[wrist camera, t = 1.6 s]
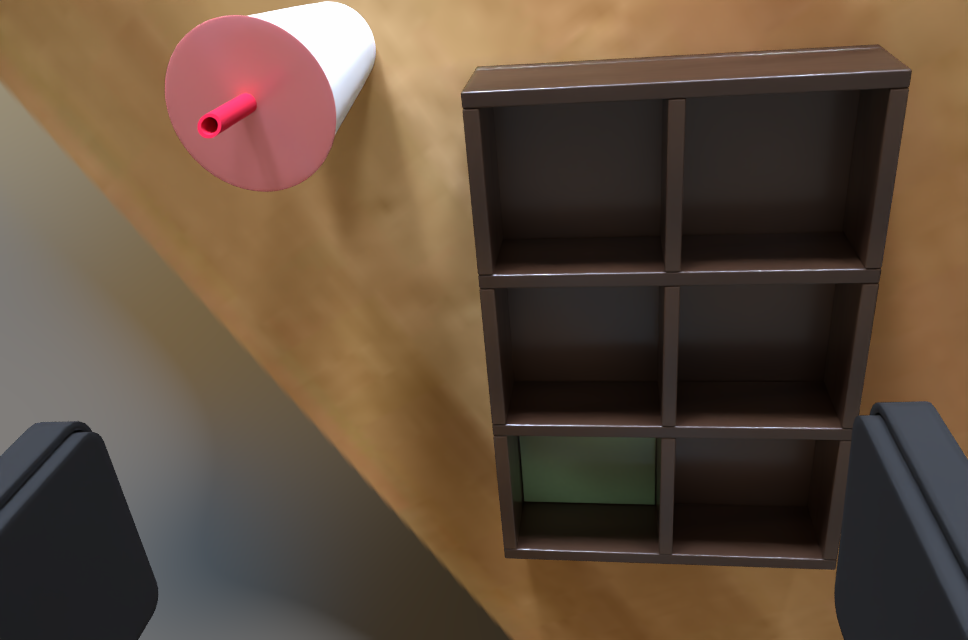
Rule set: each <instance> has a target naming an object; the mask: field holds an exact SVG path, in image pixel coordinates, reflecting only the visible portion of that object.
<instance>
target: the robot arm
mask: <svg viewBox="0 0 968 640" xmlns="http://www.w3.org/2000/svg"><path fill="white" fill-rule="evenodd" d="M157 601H158V587H157V582H156V580H155V577H154V574H153V572H152V569H151V566H150V564H149V561H148V558H147V556H146V553H145V550H144V547H143V545H142V542H141V539H140V537H139V534H138V532H137V529H136V526H135V523H134V521H133V518H132V515H131V513H130V510H129V508H128V505H127V502H126V499H125V497H124V494H123V492H122V489H121V486H120V483H119V481H118V478H117V475H116V473H115V470H114V467H113V465H112V462H111V459H110V457H109V454H108V451H107V449H106V446H105V443H104V441H103V439H102V438H101V436H99V434H97V433H94V432H92V431H91V429H90V428H89V427H88V426H87V425H86V424H85V423H82V422H79V421H78V422H75V421H74V422H41V423H36V424H34V425H32V426H31V427H30V428H29V429H27V430H26V431H25V432H24V433H23V434H22V435H21V436H20V437H19V438H18V439H17V440H16V441H15V442H14V443H13V444H12V445H11V446H10V447H9V448H8V449H7V450H6V451H5V452H4V453H3V454H2V455H1V456H0V640H138V639H139V637H140V636H141V634H142V632H143V630H144V629H145V627H146V625H147V624H148V622H149V620H150V619H151V617H152V615H153V613H154V611H155V609H156V605H157ZM835 608H836V614H837V619H838V622H839V626H840V629H841V632H842V635H843V638H844V640H968V460H967V458H966V456H965V455H964V453H963V452H962V450H961V448H960V447H959V445H958V444H957V442H956V440H955V439H954V437H953V436H952V434H951V432H950V431H949V429H948V428H947V426H946V425H945V423H944V421H943V420H942V418H941V417H940V415H939V413H938V412H937V410H936V409H935V407H934V406H933V405H932V404H931V403H930V402H926V401H923V402H881V403H875V404H874V405H873V406H872V409H871V411H870V415H867V416H857V417H856V418H855V420H854V423H853V429H852V438H851V447H850V456H849V465H848V474H847V483H846V492H845V501H844V510H843V519H842V528H841V536H840V545H839V554H838V563H837V572H836V581H835Z"/></svg>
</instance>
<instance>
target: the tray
mask: <svg viewBox="0 0 968 640" xmlns="http://www.w3.org/2000/svg"><path fill="white" fill-rule="evenodd" d="M911 73H912V70H911V69H910V68H909V67H907V66H906V65H905V64H903V63H902V62H901V61H899V60H898V59H897V58H895V57H894V56H893V55H892V54H890V53H889V52H888V51H886V50H885V49H884V48H882V47H881V46H880V45H861V46H843V47H825V48H806V49H788V50H770V51H752V52H734V53H716V54H698V55H680V56H662V57H644V58H626V59H607V60H589V61H571V62H553V63H535V64H517V65H499V66H481V67H477V68H476V69H475V71H474V73H473V74H472V76H471V78H470V79H469V81H468V83H467V84H466V86H465V87H464V89H463V91H462V92H461V99H462V107H463V108H464V109H463V120H464V131H465V142H466V152H467V163H468V173H469V184H470V194H471V205H472V215H473V226H474V236H475V247H476V257H477V268H478V274H479V276H478V278H479V287H480V299H481V310H482V320H483V331H484V342H485V352H486V363H487V373H488V384H489V394H490V405H491V415H492V423H493V434H494V447H495V458H496V468H497V479H498V490H499V500H500V511H501V521H502V532H503V542H504V552H505V558H516V559H544V560H572V561H601V562H629V563H658V564H686V565H714V566H743V567H771V568H800V569H828V570H835V568H836V561H837V560H836V559H837V555H838V548H839V541H840V535H841V528H842V519H843V510H844V501H845V492H846V483H847V474H848V465H849V456H850V447H851V438H852V429H853V423H854V420H855V418H856V417H857V416H859V411H860V405H861V398H862V392H863V385H864V379H865V372H866V366H867V359H868V353H869V346H870V339H871V333H872V326H873V320H874V313H875V307H876V300H877V294H878V287H879V281H880V274H881V267H882V261H883V255H884V248H885V242H886V235H887V229H888V222H889V216H890V209H891V203H892V196H893V190H894V183H895V177H896V170H897V164H898V157H899V151H900V144H901V138H902V131H903V125H904V118H905V112H906V105H907V99H908V92H909V89H908V87H909V85H910V79H911Z"/></svg>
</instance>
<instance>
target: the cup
mask: <svg viewBox="0 0 968 640" xmlns="http://www.w3.org/2000/svg"><path fill="white" fill-rule="evenodd" d="M375 56H376V47H375V41H374V37H373V34H372V32H371V29H370V27H369V26H368V24H367V23H366V21H365V20H364V19H363V18H362V17H361V15H359V14H358V13H357V12H356V11H355V10H353V9H352V8H350V7H348V6H346V5H344V4H341V3H337V2H321V3H315V4H307V5H302V6H296V7H291V8H286V9H280V10H275V11H270V12H265V13H260V14H255V15H250V16H242V15H230V16H222V17H217V18H214V19H211V20H208V21H206V22H204V23H202V24H200V25H198V26H196V27H195V28H194V29H192V30H191V31H190V32H189V33H187V34H186V35H185V36H184V37H183V39H182V40H181V41H180V42H179V44H178V45H177V47H176V48H175V50H174V52H173V54H172V56H171V58H170V61H169V64H168V67H167V72H166V78H165V98H166V105H167V110H168V114H169V117H170V120H171V123H172V125H173V128H174V130H175V132H176V134H177V136H178V137H179V139H180V141H181V142H182V144H183V145H184V147H185V148H186V150H187V151H188V152H189V153H190V155H191V156H192V157H193V158H194V159H195V160H196V161H197V162H198V163H199V164H200V165H201V166H202V167H203V168H205V169H206V170H207V171H209V172H210V173H211V174H213V175H214V176H216V177H217V178H219V179H221V180H223V181H225V182H227V183H229V184H231V185H234V186H236V187H240V188H243V189H247V190H252V191H263V192H268V191H278V190H283V189H287V188H290V187H293V186H295V185H297V184H299V183H301V182H303V181H305V180H306V179H307V178H309V177H310V176H311V175H312V174H314V173H315V172H316V171H317V170H318V168H319V167H320V166H321V165H322V163H323V162H324V161H325V159H326V157H327V155H328V154H329V151H330V149H331V147H332V144H333V140H334V136H335V134H336V132H337V131H338V129H339V127H340V125H341V124H342V122H343V120H344V119H345V117H346V115H347V113H348V112H349V110H350V108H351V106H352V105H353V103H354V101H355V99H356V98H357V96H358V94H359V92H360V91H361V89H362V87H363V85H364V84H365V81H366V79H367V78H368V76H369V74H370V72H371V70H372V68H373V65H374V62H375Z"/></svg>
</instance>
